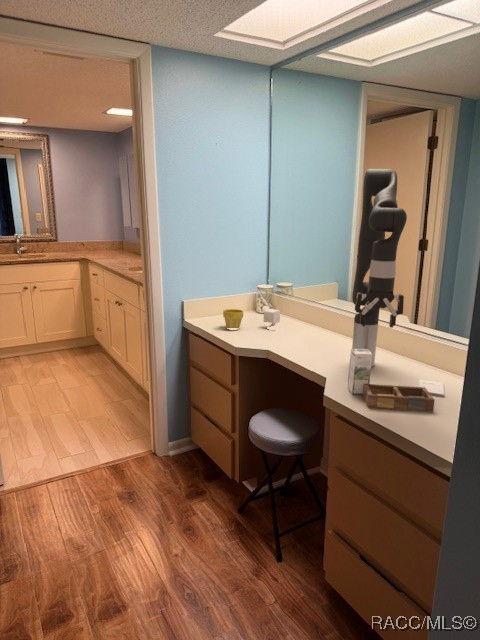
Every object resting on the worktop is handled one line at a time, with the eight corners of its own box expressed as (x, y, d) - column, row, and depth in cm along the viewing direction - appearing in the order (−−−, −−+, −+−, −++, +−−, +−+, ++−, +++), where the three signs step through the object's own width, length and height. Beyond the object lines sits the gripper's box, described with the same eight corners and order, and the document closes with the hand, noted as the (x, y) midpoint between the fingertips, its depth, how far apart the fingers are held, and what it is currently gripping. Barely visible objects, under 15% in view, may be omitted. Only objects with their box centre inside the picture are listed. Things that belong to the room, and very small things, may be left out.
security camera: (269, 326, 242) (270, 308, 240) (280, 328, 238) (281, 310, 236) (263, 328, 237) (263, 310, 235) (274, 331, 233) (275, 312, 231)
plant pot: (236, 326, 242) (236, 308, 239) (246, 330, 233) (247, 311, 231) (219, 328, 236) (219, 309, 234) (229, 332, 228) (229, 313, 225)
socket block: (362, 394, 150) (363, 382, 150) (423, 398, 148) (425, 386, 147) (367, 407, 140) (369, 394, 139) (433, 412, 138) (435, 399, 137)
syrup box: (363, 388, 156) (367, 348, 153) (368, 395, 151) (372, 353, 147) (347, 388, 156) (350, 348, 153) (351, 394, 150) (355, 353, 147)
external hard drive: (417, 395, 153) (418, 383, 165) (444, 399, 150) (443, 386, 162) (418, 390, 153) (419, 378, 164) (444, 394, 150) (443, 382, 161)
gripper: (403, 274, 141) (397, 324, 145) (356, 272, 142) (352, 322, 146) (409, 277, 133) (403, 330, 137) (360, 276, 135) (355, 328, 139)
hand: (377, 326), depth 142 cm, fingers open, 8 cm apart
